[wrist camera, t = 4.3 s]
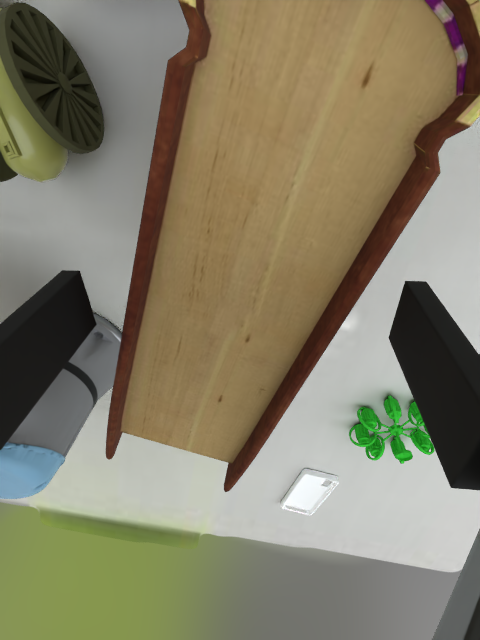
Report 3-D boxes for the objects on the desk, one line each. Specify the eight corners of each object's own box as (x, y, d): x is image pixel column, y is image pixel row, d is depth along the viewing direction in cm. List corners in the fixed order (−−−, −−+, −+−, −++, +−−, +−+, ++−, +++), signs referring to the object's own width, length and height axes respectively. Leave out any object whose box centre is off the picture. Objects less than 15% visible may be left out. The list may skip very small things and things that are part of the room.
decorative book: (264, 24, 31) (202, -215, 6) (346, 59, 31) (581, -23, 7) (200, 245, 43) (97, 458, 19) (260, 266, 44) (234, 496, 20)
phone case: (304, 467, 68) (279, 502, 77) (304, 473, 67) (279, 508, 76) (339, 476, 69) (310, 510, 77) (339, 482, 68) (311, 516, 76)
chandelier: (386, 376, 53) (398, 411, 47) (461, 411, 55) (482, 448, 50) (329, 428, 61) (334, 464, 55) (398, 456, 64) (409, 493, 58)
